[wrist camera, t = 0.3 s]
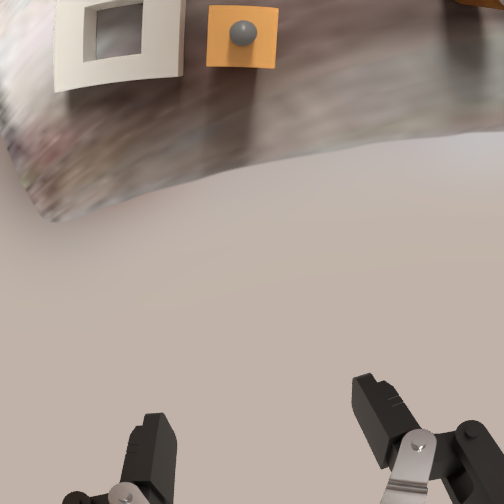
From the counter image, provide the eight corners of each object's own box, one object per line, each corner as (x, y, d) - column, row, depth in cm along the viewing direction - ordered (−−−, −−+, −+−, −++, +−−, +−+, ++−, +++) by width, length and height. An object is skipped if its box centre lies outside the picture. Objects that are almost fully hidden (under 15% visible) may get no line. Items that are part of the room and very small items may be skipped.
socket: (68, 89, 28) (54, 92, 25) (70, -2, 22) (56, -6, 19) (183, 75, 29) (178, 76, 26) (187, -23, 23) (183, -31, 20)
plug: (216, 66, 29) (203, 66, 16) (217, 29, 27) (206, -1, 13) (257, 67, 29) (279, 68, 16) (259, 30, 27) (283, 2, 14)
